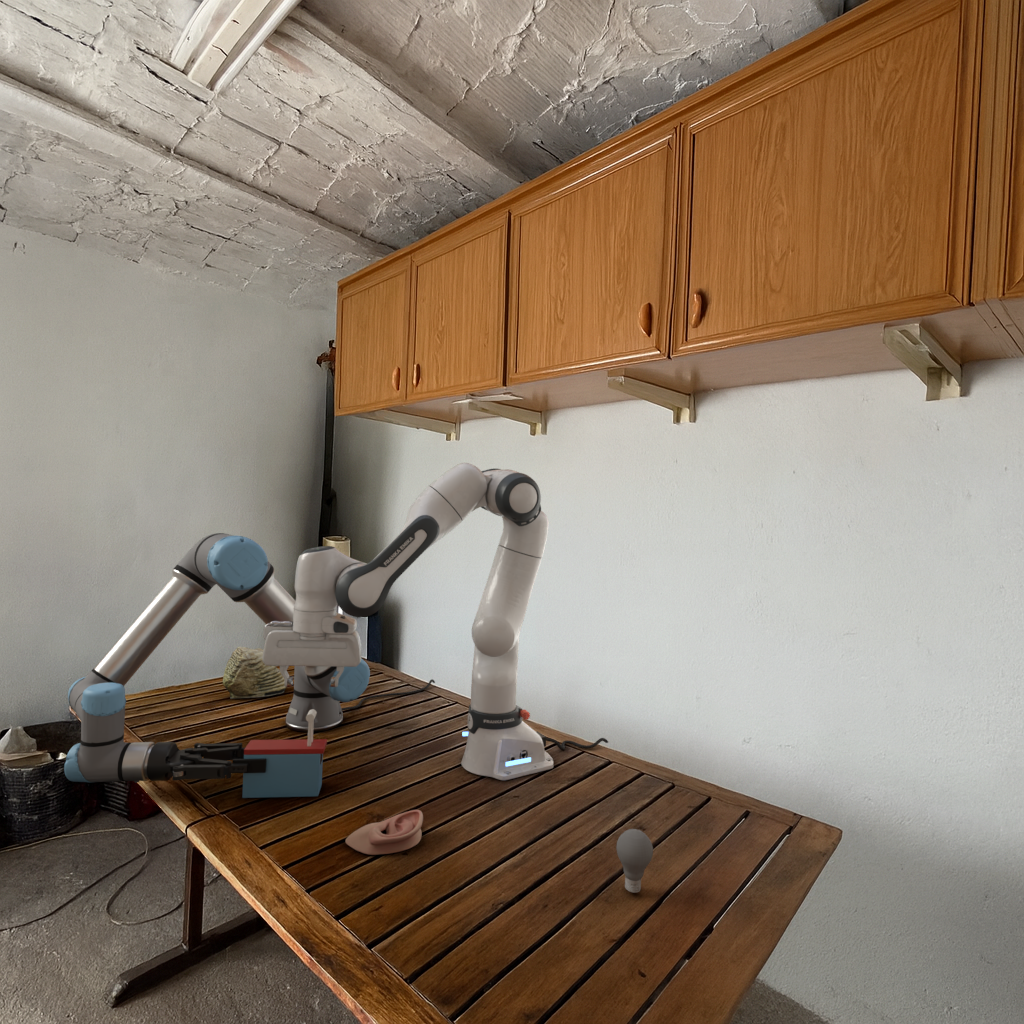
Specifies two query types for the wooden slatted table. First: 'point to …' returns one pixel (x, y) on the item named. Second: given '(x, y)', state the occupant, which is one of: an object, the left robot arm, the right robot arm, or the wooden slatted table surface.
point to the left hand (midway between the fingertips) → (268, 759)
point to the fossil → (251, 675)
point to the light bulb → (634, 857)
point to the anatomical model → (388, 834)
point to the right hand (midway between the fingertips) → (311, 686)
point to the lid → (289, 743)
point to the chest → (285, 776)
